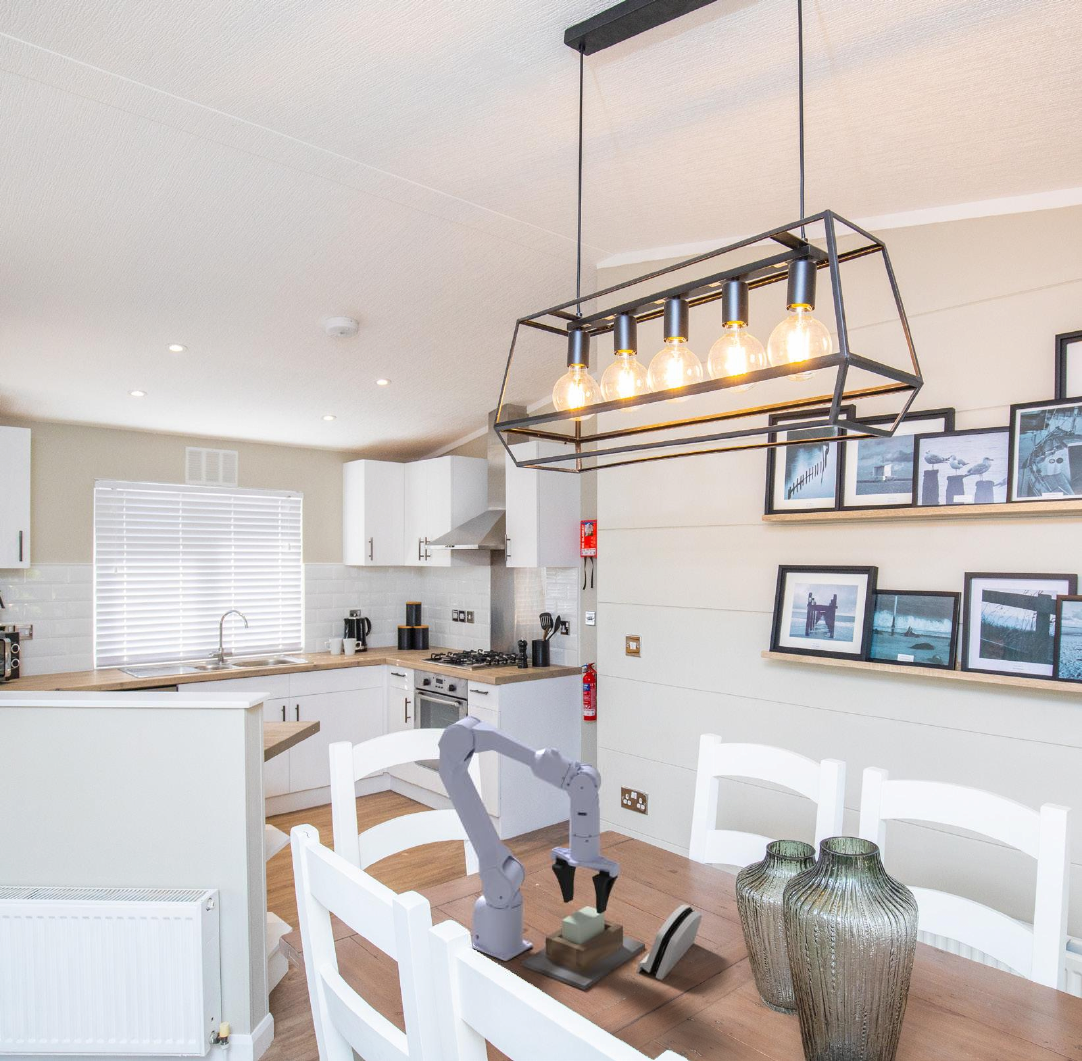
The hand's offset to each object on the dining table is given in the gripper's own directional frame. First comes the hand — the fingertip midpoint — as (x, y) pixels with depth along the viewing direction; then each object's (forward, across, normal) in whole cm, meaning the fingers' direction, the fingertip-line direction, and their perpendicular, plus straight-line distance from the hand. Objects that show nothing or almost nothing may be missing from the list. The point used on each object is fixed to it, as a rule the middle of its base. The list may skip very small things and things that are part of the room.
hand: (584, 906), depth 150 cm
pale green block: (+8, 0, 0) cm, 8 cm away
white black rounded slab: (+10, +13, +10) cm, 19 cm away
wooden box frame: (+9, 0, 0) cm, 9 cm away
